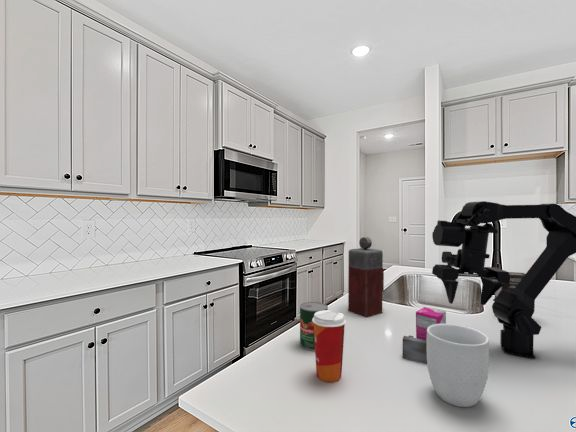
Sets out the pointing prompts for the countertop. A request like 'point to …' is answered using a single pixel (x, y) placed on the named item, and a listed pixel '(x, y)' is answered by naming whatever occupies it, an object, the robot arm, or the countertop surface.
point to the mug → (457, 363)
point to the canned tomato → (309, 323)
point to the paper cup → (329, 344)
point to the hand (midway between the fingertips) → (466, 303)
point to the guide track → (414, 349)
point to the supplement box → (428, 320)
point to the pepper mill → (365, 279)
